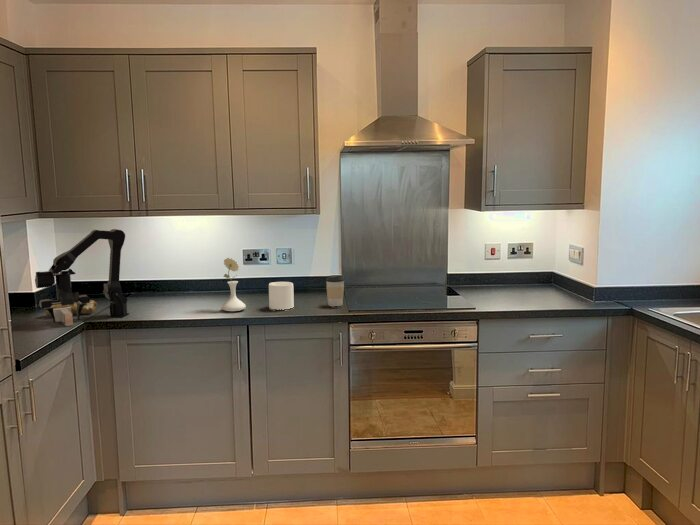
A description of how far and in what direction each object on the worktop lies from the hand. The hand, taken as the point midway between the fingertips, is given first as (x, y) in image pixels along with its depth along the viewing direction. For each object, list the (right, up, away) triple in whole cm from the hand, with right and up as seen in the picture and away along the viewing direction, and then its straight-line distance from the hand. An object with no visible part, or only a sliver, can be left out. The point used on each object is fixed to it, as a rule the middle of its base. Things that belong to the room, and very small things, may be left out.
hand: (66, 320), depth 238 cm
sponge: (-6, +1, +17) cm, 18 cm away
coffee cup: (+115, +4, +33) cm, 120 cm away
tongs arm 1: (-1, -1, 0) cm, 1 cm away
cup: (+90, +3, +28) cm, 94 cm away
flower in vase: (+67, +2, +24) cm, 71 cm away
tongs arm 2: (+1, -1, +1) cm, 1 cm away
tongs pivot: (-5, 0, +6) cm, 8 cm away
